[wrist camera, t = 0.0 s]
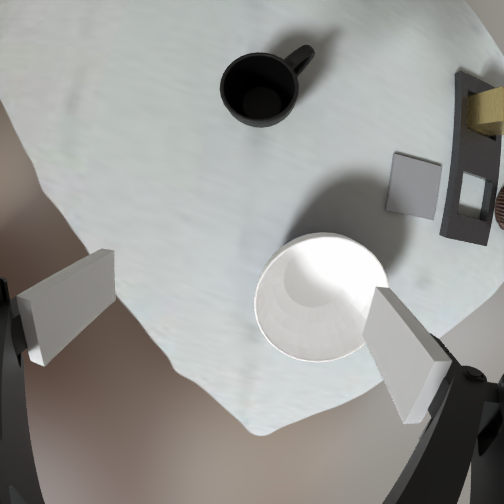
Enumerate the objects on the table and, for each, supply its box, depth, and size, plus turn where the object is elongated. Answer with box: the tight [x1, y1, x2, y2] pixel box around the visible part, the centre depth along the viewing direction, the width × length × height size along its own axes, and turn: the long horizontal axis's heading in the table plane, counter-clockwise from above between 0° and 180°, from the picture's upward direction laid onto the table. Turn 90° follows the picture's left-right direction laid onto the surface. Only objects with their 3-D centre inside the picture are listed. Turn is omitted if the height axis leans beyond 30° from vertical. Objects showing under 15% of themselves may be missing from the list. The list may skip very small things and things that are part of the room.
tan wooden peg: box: [467, 87, 504, 136], centre depth 30 cm, size 5×5×10 cm
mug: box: [220, 45, 315, 128], centre depth 33 cm, size 8×12×10 cm
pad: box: [385, 154, 442, 220], centre depth 39 cm, size 8×8×1 cm
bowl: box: [254, 232, 389, 362], centre depth 39 cm, size 16×16×10 cm
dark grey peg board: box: [439, 71, 502, 246], centre depth 36 cm, size 26×9×2 cm, turn 173°
